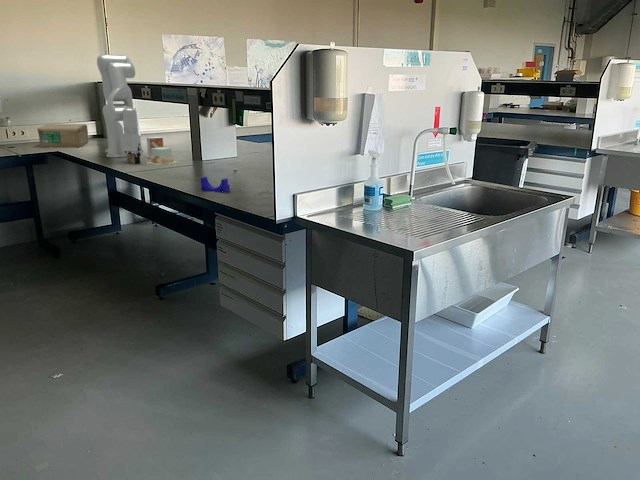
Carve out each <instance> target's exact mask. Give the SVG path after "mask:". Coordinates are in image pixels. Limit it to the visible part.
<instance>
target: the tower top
mask: <svg viewBox="0 0 640 480" xmlns="http://www.w3.org/2000/svg"><path fill="white" fill-rule="evenodd" d="M172 150H173V149H172V147H165V146H163V147H158V148H152V149H151V155H152V156H160V157H164V156H169V155H173V153H172Z"/></svg>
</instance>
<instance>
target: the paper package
mask: <svg viewBox="0 0 640 480" xmlns="http://www.w3.org/2000/svg"><path fill="white" fill-rule="evenodd" d="M88 130H89V129H88V125H87V124H86V123H75V124H74V123H70V124H69V123H68V124H66V123H64V124H62V123H61V124H60V123H58V124H55V123H54V124H44V125H42V126H39V127H37V133H38V140H39V145H40V146H39V147H40V148H41V149H42V148H43V149H46V148H48V149H49V148H50V147H52V148H81V147H83V146H84V145H86V144H88V143H89V132H88Z"/></svg>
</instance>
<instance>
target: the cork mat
mask: <svg viewBox="0 0 640 480" xmlns="http://www.w3.org/2000/svg"><path fill="white" fill-rule="evenodd" d="M173 161H174V162H170V163H165V164H159V163H151V161H146V162H145V164H152V165H160V166H164V165H169V164H175V163H179V162H180V161H177V160H173Z"/></svg>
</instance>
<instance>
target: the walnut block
mask: <svg viewBox="0 0 640 480" xmlns="http://www.w3.org/2000/svg"><path fill="white" fill-rule="evenodd" d="M126 162H127V164H129V165H136V164H135V153H134V152H132V153H129V154H127V156H126Z"/></svg>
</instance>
